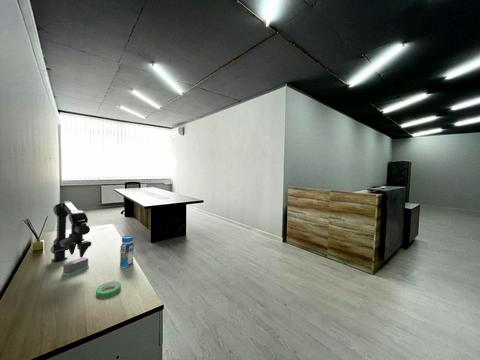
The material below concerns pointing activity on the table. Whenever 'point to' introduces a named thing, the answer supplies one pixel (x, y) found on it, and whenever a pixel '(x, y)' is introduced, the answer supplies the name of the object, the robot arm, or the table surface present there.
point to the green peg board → (74, 271)
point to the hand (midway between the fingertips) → (76, 255)
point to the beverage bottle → (126, 252)
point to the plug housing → (75, 265)
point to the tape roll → (108, 293)
